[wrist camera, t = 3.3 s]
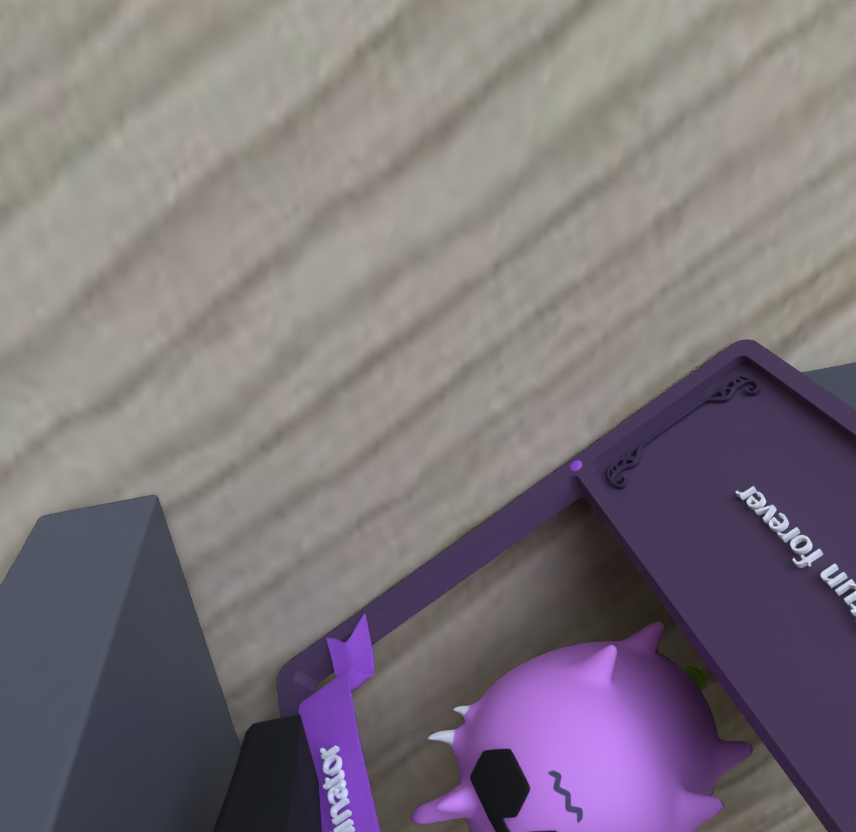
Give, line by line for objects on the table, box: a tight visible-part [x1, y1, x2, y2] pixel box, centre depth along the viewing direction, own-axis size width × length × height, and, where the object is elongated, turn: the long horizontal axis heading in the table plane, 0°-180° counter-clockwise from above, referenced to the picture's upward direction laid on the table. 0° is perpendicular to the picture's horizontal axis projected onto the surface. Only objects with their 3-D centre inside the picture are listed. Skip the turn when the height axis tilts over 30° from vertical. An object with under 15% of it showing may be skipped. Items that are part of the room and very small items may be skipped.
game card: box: [277, 340, 856, 832], centre depth 10 cm, size 7×5×9 cm
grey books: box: [0, 363, 856, 832], centre depth 10 cm, size 13×7×6 cm, turn 97°
